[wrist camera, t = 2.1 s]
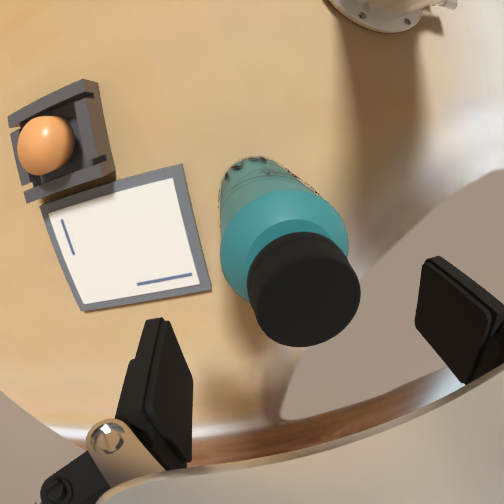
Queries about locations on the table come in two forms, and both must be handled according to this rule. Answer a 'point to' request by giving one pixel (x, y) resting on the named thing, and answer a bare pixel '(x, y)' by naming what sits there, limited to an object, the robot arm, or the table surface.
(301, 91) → the table surface
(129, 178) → the drawing board
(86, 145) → the button housing
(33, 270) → the table surface
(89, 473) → the robot arm
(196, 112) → the table surface
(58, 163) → the button
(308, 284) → the beverage bottle
